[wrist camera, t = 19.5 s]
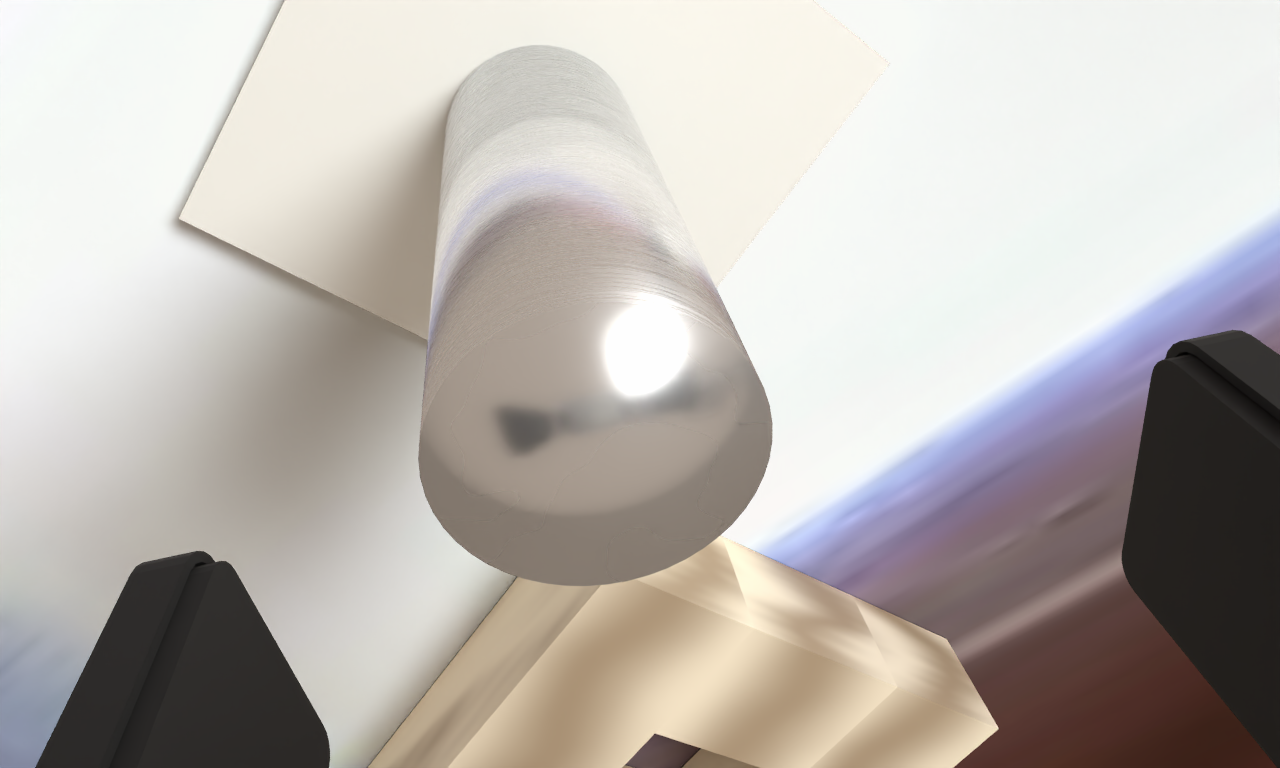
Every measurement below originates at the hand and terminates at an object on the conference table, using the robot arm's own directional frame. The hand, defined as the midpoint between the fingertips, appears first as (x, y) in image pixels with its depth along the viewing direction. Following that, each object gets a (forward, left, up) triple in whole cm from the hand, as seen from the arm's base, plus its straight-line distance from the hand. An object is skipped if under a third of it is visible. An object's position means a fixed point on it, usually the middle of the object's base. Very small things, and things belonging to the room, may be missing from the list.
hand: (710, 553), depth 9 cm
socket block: (-14, +16, -15) cm, 26 cm away
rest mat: (+1, 0, -15) cm, 15 cm away
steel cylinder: (+1, 0, -14) cm, 14 cm away
